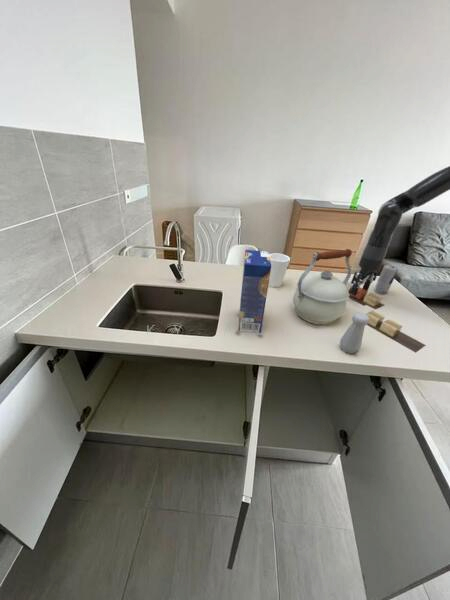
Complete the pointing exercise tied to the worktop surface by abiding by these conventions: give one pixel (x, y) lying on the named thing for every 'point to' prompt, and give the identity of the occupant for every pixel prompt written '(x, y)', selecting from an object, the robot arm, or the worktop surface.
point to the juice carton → (254, 290)
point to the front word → (393, 331)
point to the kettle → (322, 291)
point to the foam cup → (278, 269)
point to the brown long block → (368, 300)
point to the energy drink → (385, 279)
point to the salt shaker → (354, 333)
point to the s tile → (360, 293)
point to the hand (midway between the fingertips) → (359, 292)
